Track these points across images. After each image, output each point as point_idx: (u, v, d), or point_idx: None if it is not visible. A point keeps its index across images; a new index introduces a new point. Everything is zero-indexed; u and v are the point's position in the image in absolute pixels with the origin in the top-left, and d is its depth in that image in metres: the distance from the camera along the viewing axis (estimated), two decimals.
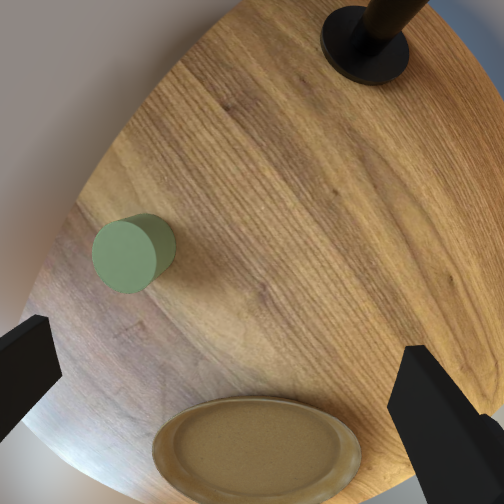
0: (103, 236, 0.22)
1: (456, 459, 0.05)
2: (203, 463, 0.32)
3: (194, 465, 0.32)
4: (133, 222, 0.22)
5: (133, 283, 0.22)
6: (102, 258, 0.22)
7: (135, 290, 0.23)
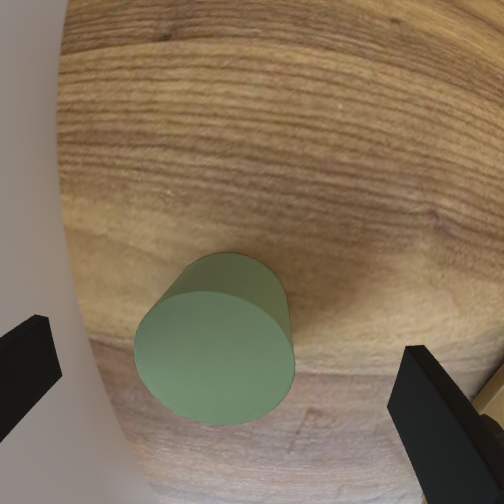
0: (147, 360, 0.10)
1: (457, 459, 0.05)
2: None
3: None
4: (173, 293, 0.10)
5: (268, 390, 0.10)
6: (179, 394, 0.10)
7: (280, 398, 0.10)
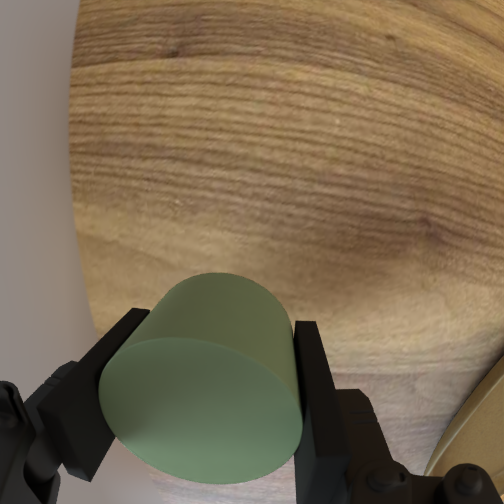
0: (116, 413, 0.07)
1: (304, 422, 0.07)
2: None
3: None
4: (141, 336, 0.07)
5: (267, 453, 0.07)
6: (158, 451, 0.07)
7: (282, 460, 0.07)
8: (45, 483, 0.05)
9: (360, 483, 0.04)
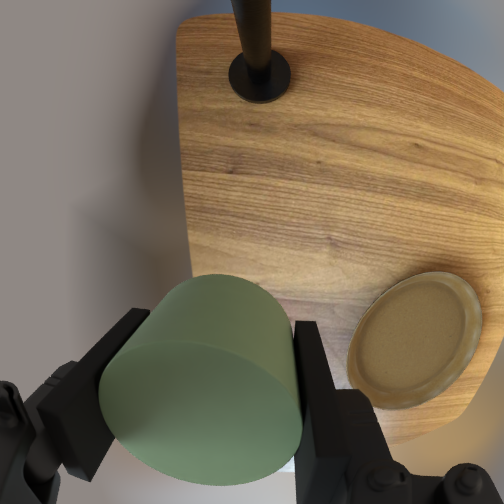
0: (116, 415, 0.07)
1: (304, 423, 0.07)
2: (389, 375, 0.44)
3: (386, 382, 0.44)
4: (141, 339, 0.07)
5: (267, 455, 0.07)
6: (158, 453, 0.07)
7: (282, 462, 0.07)
8: (45, 483, 0.05)
9: (360, 483, 0.04)
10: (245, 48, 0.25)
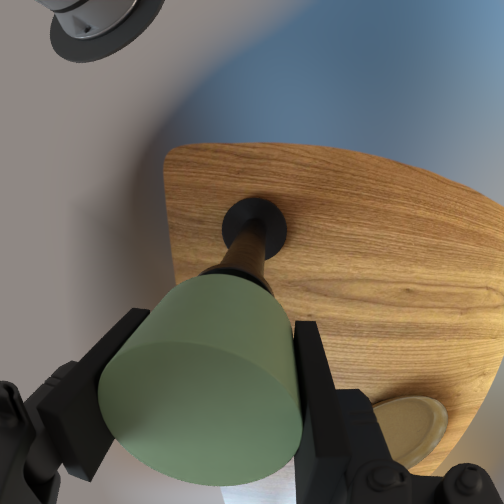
0: (116, 415, 0.07)
1: (304, 423, 0.07)
2: None
3: None
4: (140, 339, 0.07)
5: (267, 455, 0.07)
6: (158, 453, 0.07)
7: (282, 462, 0.07)
8: (45, 483, 0.05)
9: (360, 483, 0.04)
10: None
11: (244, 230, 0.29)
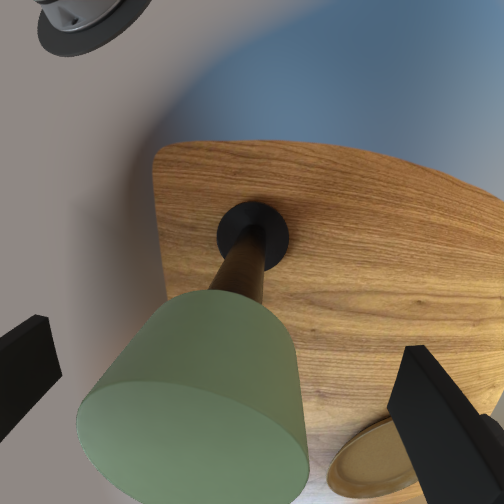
0: (98, 451, 0.06)
1: (456, 459, 0.05)
2: (366, 474, 0.44)
3: (362, 479, 0.44)
4: (119, 373, 0.06)
5: (268, 496, 0.06)
6: (147, 490, 0.06)
7: (285, 503, 0.06)
8: None
9: None
10: None
11: (240, 241, 0.26)
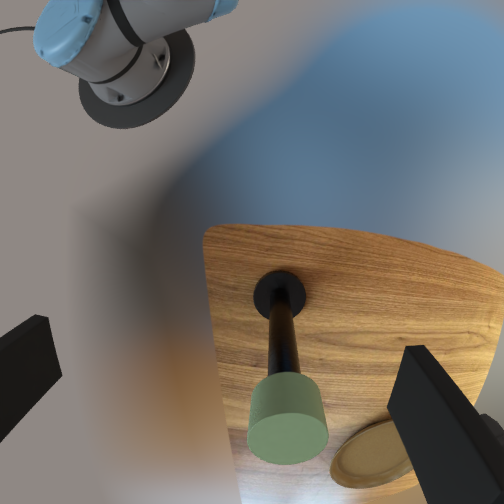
0: (255, 440, 0.19)
1: (457, 459, 0.05)
2: (361, 468, 0.55)
3: (358, 472, 0.56)
4: (272, 412, 0.18)
5: (314, 448, 0.19)
6: (269, 453, 0.19)
7: (319, 451, 0.19)
8: None
9: None
10: None
11: (277, 311, 0.38)
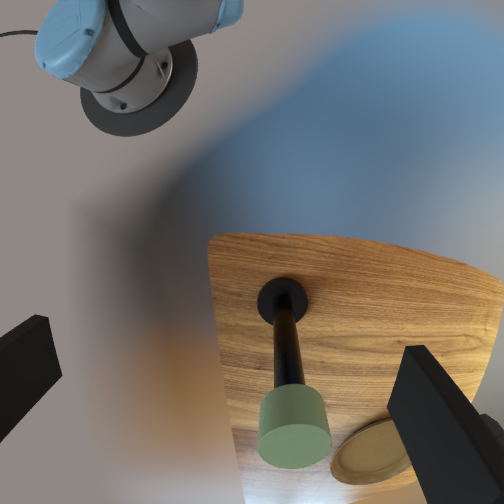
0: (265, 447, 0.20)
1: (456, 459, 0.05)
2: (360, 465, 0.58)
3: (358, 469, 0.58)
4: (281, 423, 0.20)
5: (318, 454, 0.20)
6: (277, 458, 0.20)
7: (323, 456, 0.20)
8: None
9: None
10: None
11: (281, 320, 0.40)
